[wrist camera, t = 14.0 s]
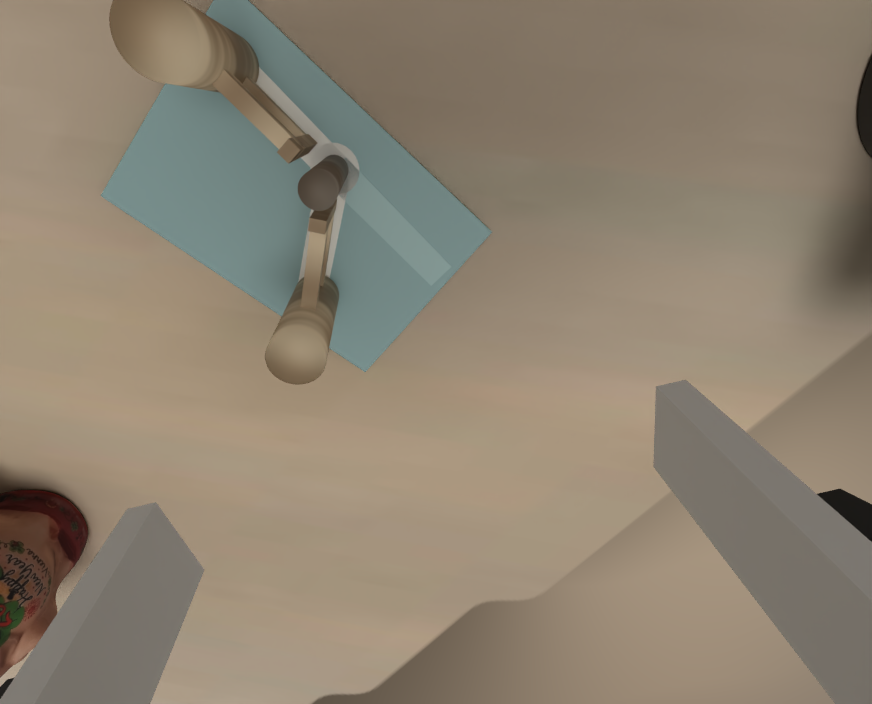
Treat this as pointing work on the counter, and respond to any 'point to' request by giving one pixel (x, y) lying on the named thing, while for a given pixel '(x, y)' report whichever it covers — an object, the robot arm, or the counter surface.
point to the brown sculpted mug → (33, 565)
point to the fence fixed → (217, 78)
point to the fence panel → (307, 312)
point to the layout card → (295, 195)
